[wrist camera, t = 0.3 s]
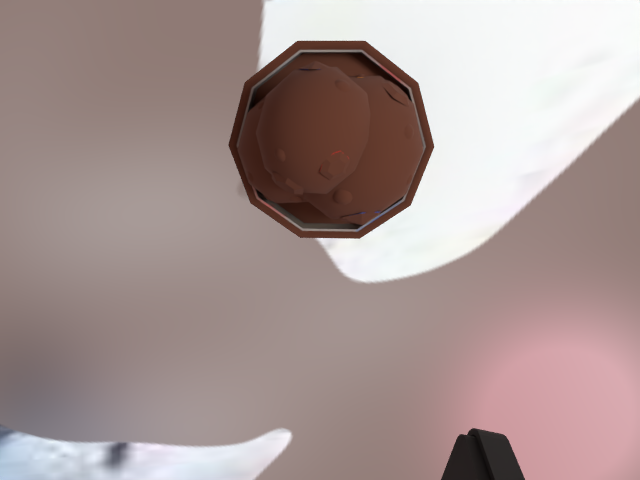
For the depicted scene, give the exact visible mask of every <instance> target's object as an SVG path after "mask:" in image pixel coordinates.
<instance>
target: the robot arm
mask: <svg viewBox="0 0 640 480" xmlns="http://www.w3.org/2000/svg"><path fill="white" fill-rule="evenodd" d="M441 480H525V478H524V476H523V474H522V471H521V469H520V466H519V464H518V462H517V459H516V457H515V455H514V452H513V450H512V447H511V445H510V443H509V440H508V439H507V437H506V436H505V435H503V434H499V433H494V432H489V431H485V430H480V429H475V428H473V429H471V430H470V431H469V432H468V434H467V435H463V434H461V435H459V436H458V438H457V440H456V442H455V445H454V447H453V450H452V453H451V455H450V458H449V461H448V463H447V466H446V468H445V471H444V473H443V476H442V479H441Z"/></svg>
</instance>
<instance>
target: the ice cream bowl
mask: <svg viewBox="0 0 640 480" xmlns="http://www.w3.org/2000/svg"><path fill="white" fill-rule="evenodd" d="M229 147H230V150H231V153H232V155H233V158H234V161H235V163H236V166H237V169H238V171H239V174H240V176H241V179H242V182H243V184H244V187H245V190H246V192H247V195H248V198H249V200H250V203H251V204H253V205H254V206H256V207H257V208H258V209H260V210H261V211H263V212H264V213H266V214H267V215H269V216H270V217H271V218H273V219H274V220H276V221H277V222H278V223H280V224H281V225H283V226H284V227H286V228H287V229H289V230H290V231H291V232H293V233H294V234H296V235H297V236H299V237H300V238H303V237H305V238H359V239H360V238H361V237H363V236H364V235H366V234H367V233H369V232H370V231H372V230H373V229H375V228H377V227H378V226H380V225H381V224H383V223H384V222H386V221H387V220H389V219H390V218H392V217H393V216H395V215H396V214H398V213H400V212H401V211H403V210H404V209H406V208H407V207H409V206H410V205H411V203H412V201H413V198H414V196H415V193H416V191H417V188H418V186H419V183H420V181H421V178H422V176H423V173H424V171H425V168H426V166H427V163H428V161H429V158H430V156H431V153H432V151H433V148H434V144H433V140H432V136H431V132H430V128H429V124H428V120H427V116H426V112H425V108H424V104H423V100H422V96H421V92H420V88H419V84H418V82H416V81H415V80H414V79H413V78H411V77H410V76H409V75H408V74H406V73H405V72H404V71H403V70H401V69H400V68H399V67H398V66H396V65H395V64H394V63H392V62H391V61H390V60H389V59H387V58H386V57H385V56H384V55H382V54H381V53H380V52H379V51H377V50H376V49H375V48H374V47H372V46H371V45H370V44H368V43H367V42H366V41H297V42H295V43H294V44H293V45H292V46H290V47H289V48H288V49H286V50H285V51H284V52H283V53H281V54H280V55H279V56H278V57H276V58H275V59H274V60H273V61H271V62H270V63H269V64H268V65H266V66H265V67H264V68H263V69H261V70H260V71H259V72H257V73H256V74H255V75H254V76H253V77H251V78H250V79H249V80H247V81H246V82H245V84H244V88H243V92H242V95H241V99H240V103H239V107H238V111H237V114H236V118H235V123H234V126H233V130H232V134H231V138H230V141H229Z"/></svg>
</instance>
